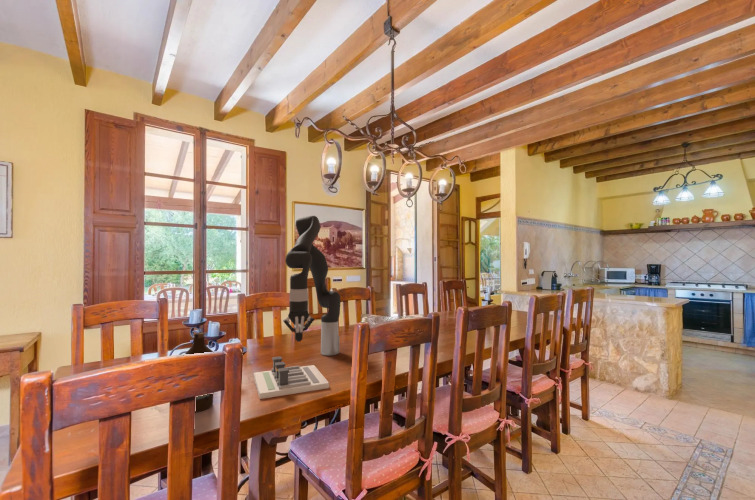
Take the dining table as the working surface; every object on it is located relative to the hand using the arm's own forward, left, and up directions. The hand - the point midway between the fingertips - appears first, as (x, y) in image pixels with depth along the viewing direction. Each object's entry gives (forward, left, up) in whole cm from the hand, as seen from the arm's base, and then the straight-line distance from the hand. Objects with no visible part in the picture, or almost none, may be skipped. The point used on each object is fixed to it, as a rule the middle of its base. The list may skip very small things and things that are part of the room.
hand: (298, 341), depth 140 cm
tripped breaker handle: (+7, 0, -14) cm, 16 cm away
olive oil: (+36, +10, -17) cm, 41 cm away
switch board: (+3, 0, -17) cm, 17 cm away
